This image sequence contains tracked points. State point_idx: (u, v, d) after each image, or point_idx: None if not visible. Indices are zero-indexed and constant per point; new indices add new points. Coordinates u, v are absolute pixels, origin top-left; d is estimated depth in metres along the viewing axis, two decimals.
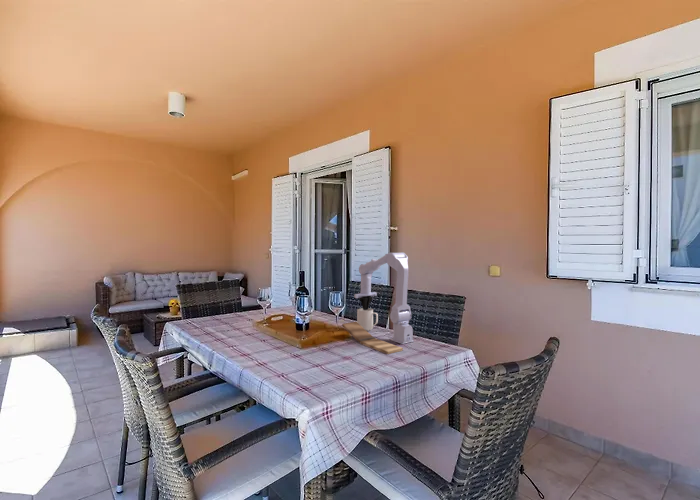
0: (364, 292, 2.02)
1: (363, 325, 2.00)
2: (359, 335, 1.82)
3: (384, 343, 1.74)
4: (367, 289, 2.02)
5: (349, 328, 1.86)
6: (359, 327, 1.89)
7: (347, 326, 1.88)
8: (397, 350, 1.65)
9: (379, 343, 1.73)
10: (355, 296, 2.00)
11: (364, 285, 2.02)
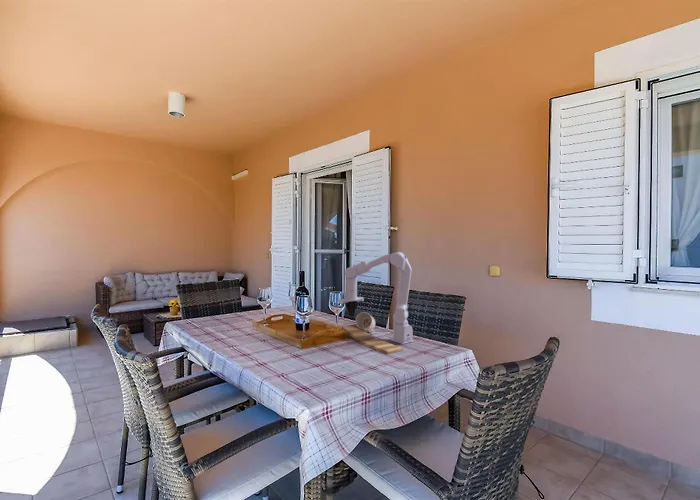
0: (350, 297, 1.87)
1: None
2: (359, 336, 1.82)
3: (384, 343, 1.74)
4: (353, 294, 1.87)
5: (349, 330, 1.87)
6: (358, 329, 1.90)
7: (346, 328, 1.88)
8: (397, 350, 1.65)
9: (379, 343, 1.73)
10: (340, 301, 1.86)
11: (353, 290, 1.87)
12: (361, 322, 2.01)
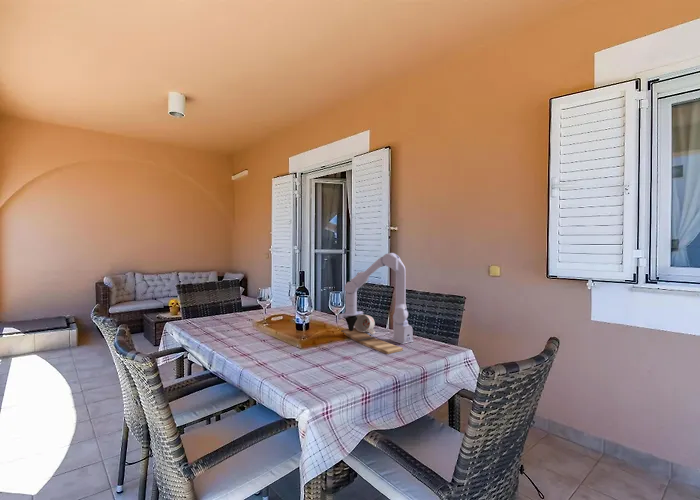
0: (349, 312, 1.88)
1: (361, 330, 1.97)
2: (359, 337, 1.82)
3: (384, 343, 1.74)
4: (352, 308, 1.88)
5: (348, 332, 1.87)
6: (358, 331, 1.90)
7: (346, 331, 1.89)
8: (397, 350, 1.65)
9: (379, 343, 1.73)
10: (339, 316, 1.86)
11: (352, 304, 1.88)
12: (360, 323, 2.01)
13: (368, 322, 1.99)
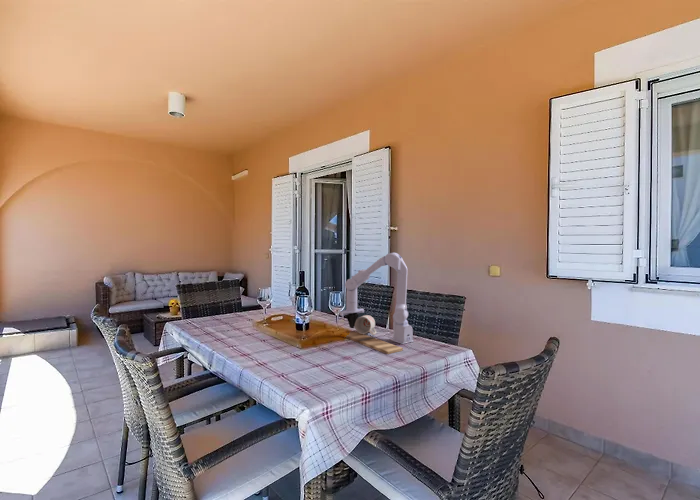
0: (350, 309, 1.87)
1: None
2: (359, 338, 1.82)
3: (384, 343, 1.74)
4: (353, 306, 1.87)
5: (348, 335, 1.87)
6: (358, 333, 1.90)
7: None
8: (397, 350, 1.65)
9: (379, 343, 1.73)
10: (340, 313, 1.86)
11: (353, 301, 1.87)
12: (361, 323, 2.01)
13: (368, 322, 2.00)
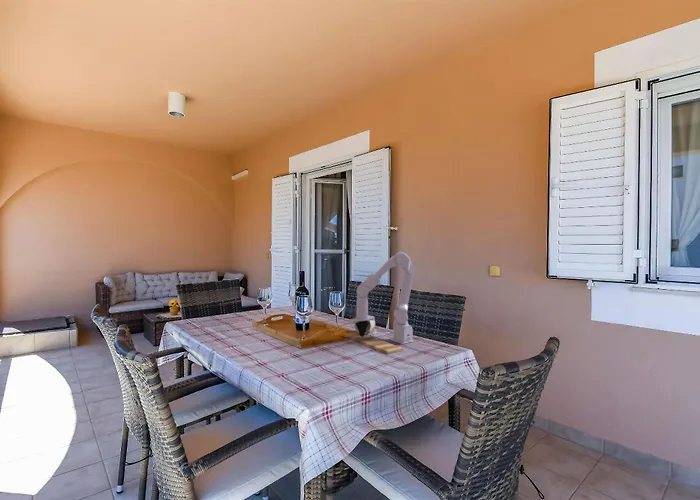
0: (360, 317, 1.80)
1: None
2: (359, 338, 1.82)
3: (384, 343, 1.74)
4: (364, 313, 1.80)
5: (348, 335, 1.87)
6: (358, 333, 1.90)
7: None
8: (397, 350, 1.65)
9: (379, 343, 1.73)
10: (350, 321, 1.79)
11: (365, 309, 1.81)
12: None
13: None
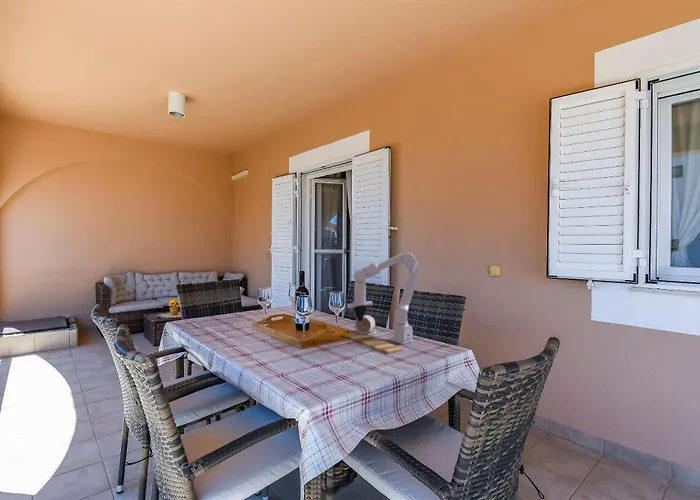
0: (358, 301, 1.82)
1: None
2: (359, 338, 1.82)
3: (384, 343, 1.74)
4: (361, 298, 1.81)
5: (348, 335, 1.87)
6: (358, 333, 1.90)
7: None
8: (397, 350, 1.65)
9: (379, 343, 1.73)
10: (348, 306, 1.80)
11: (363, 293, 1.82)
12: (361, 323, 2.01)
13: (368, 322, 2.00)
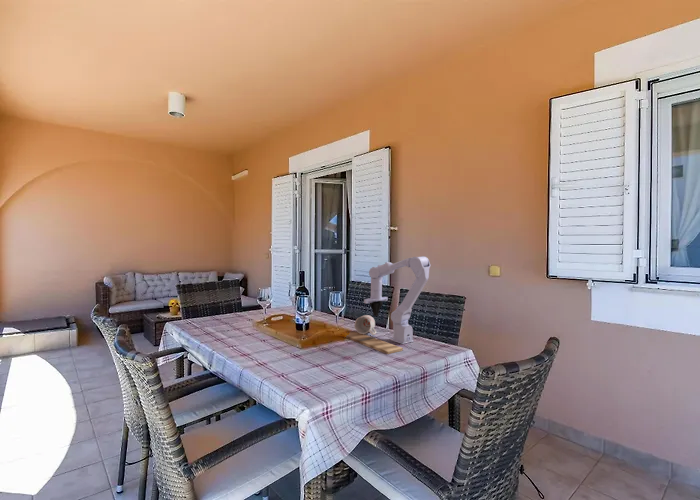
0: (374, 297, 1.88)
1: None
2: (359, 338, 1.82)
3: (384, 343, 1.74)
4: (378, 294, 1.88)
5: (348, 335, 1.87)
6: (358, 333, 1.90)
7: None
8: (397, 350, 1.65)
9: (379, 343, 1.73)
10: (365, 301, 1.87)
11: (376, 289, 1.88)
12: (361, 323, 2.01)
13: (368, 322, 2.00)
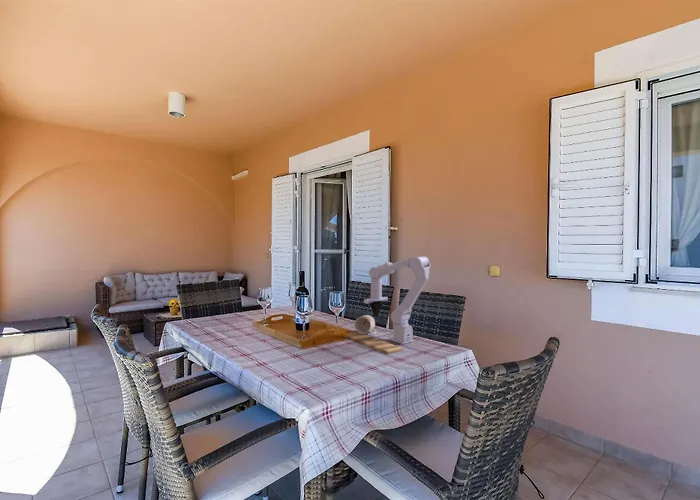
0: (374, 297, 1.88)
1: None
2: (359, 338, 1.82)
3: (384, 343, 1.74)
4: (378, 294, 1.88)
5: (348, 335, 1.87)
6: (358, 333, 1.90)
7: None
8: (397, 350, 1.65)
9: (379, 343, 1.73)
10: (365, 301, 1.87)
11: (376, 289, 1.88)
12: (361, 323, 2.01)
13: (368, 322, 2.00)
